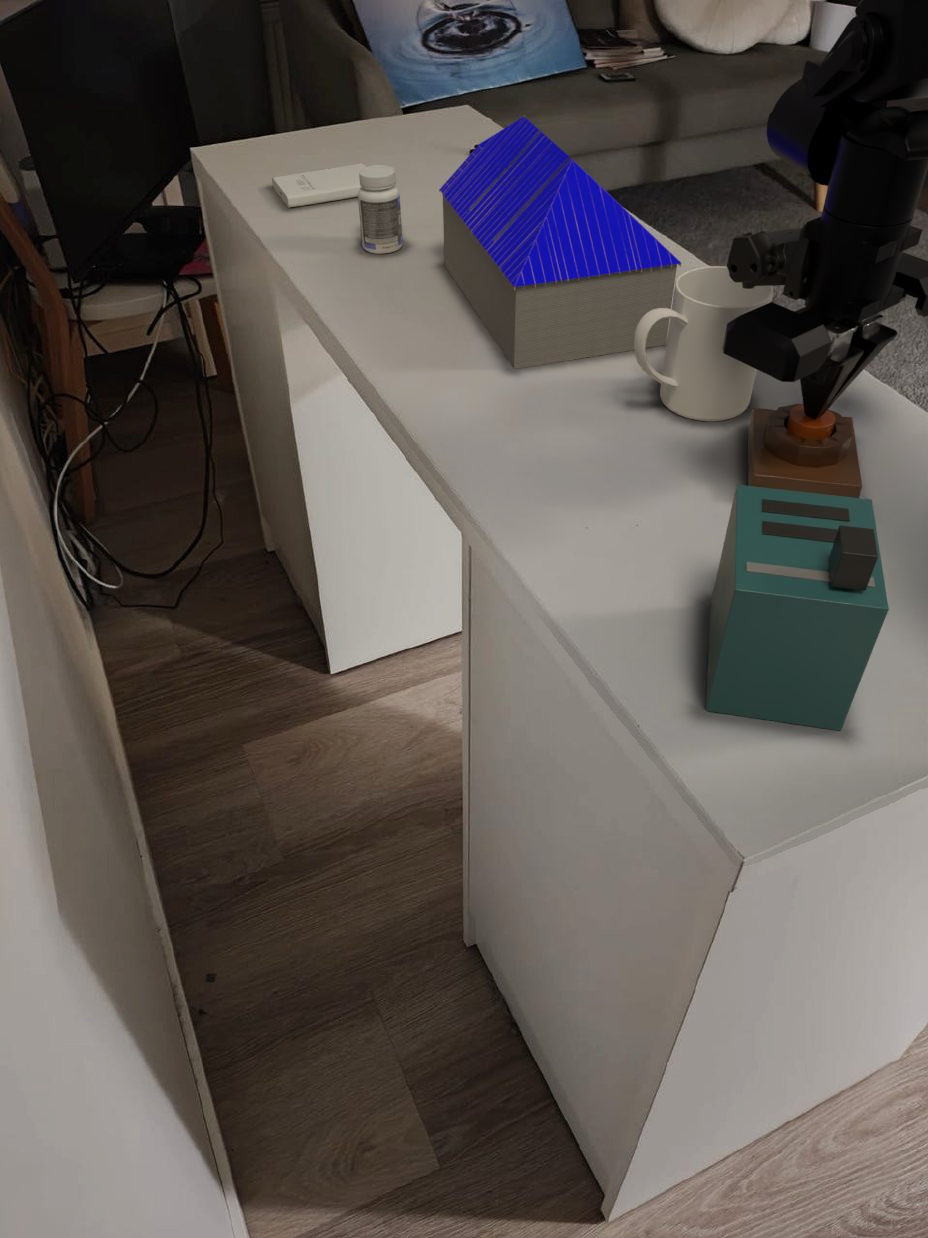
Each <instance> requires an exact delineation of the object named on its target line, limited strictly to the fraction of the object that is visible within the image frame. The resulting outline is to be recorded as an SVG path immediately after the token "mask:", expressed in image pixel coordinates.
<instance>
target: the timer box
mask: <svg viewBox="0 0 928 1238" xmlns="http://www.w3.org/2000/svg"><path fill="white" fill-rule="evenodd" d="M799 405H803V403H794V404H789V405H784V406H779V407H778V408H776V409H772V408H760V407H753V408H752V411H751V415H750V421H749V424H748V429H747V433H748V434H747V438H748V439H747V440H748V441H747V444H748V445H747V452H748V453H747V454H748V455H747V486H754V487H763V488H772V489H781V490H790V491H799V492H808V493H817V494H826V495H836V496H845V497H854V498H860V494H861V492H862V489H863V483H862V475H861V468H860V460H859V454H858V448H857V439H856V434H855V427H854V420H853V419H854V418H853V417H852V416H843V415H842V414H841V413H840V412H837V411H834V410H832V409H830V408H829V409H828V410H829V411H831V412H832V413H833V414H834V416H835V423H834V426H833V430H832V433H831V436H830V437H828V438H823V439H808V438H803V437H800V436H798V435H795V434H792V433H791V432H790V431H789V430H788V429H787V428H786V427H787V423H788V419H789V415H790V411H791V410H792V409H793V408H794V407H796V406H799Z"/></svg>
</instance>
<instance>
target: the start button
mask: <svg viewBox="0 0 928 1238" xmlns="http://www.w3.org/2000/svg"><path fill="white" fill-rule="evenodd" d="M829 410H830V409H829ZM829 410H827V411H826V412H825V413H824V414H823V415H822V416H821V417H819V418H817V419H813V418H811V417H809V416H807V415H805V413H804V406H803V405H799V406H796V407H794V408H793V409H792V410H791V411H790V415H789V419H788V423H787V427H786V428H787V429H788V430H789V431H790V432H791V433H792V434H795V435H798V436H800V437H803V438H808V439H823V438H828V437H830V436H831V433H832V430H833V426H834V423H835V416H834V414H833V413H832V412H831V411H829Z"/></svg>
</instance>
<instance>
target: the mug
mask: <svg viewBox="0 0 928 1238" xmlns="http://www.w3.org/2000/svg"><path fill="white" fill-rule="evenodd" d="M773 298H774V286H755V287H754V288H752V289H744V288H742V282H741V283H736V282H734V281H733V280H732V279H731V278H730V276H729V270H728V268H727V266H722V265H721V266H720V265H711V266H710V265H709V266H702V267H697V268H692V269H690V270H687V271H684V272H683V273H682V274H680V275H679V276H677V278H676V279H675V283H674V290H673V297H672V304H671V309H668V308H657V309H653V310H651V311H649V312H648V313H646V314H645V315H644V316H643V317H642V318H641V320H640V322H639V323H638V325H637V328H636V331H635V337H634V349H635V350H634V354H635V358H636V361H637V363H638V365H639V367H640V368H641V370H642V371H644V373H645V374H647V375H648V377H650V378H651V379H653V380H654V381H656V382H658V383H659V384H660V389H659V397H660V399H661V401H662V404H663V405H664V406H665V407H666V408H667V409H668V410H670V411H671V412H673V413H675V414H676V415H678V416H681V417H684V418H687V419H690V420H694V421H695V420H696V421H700V422H701V421H702V422H721V421H726V420H730V419H733V418H736V417H738V416H740V415H742V414H743V413H744V412H745V411H746V410H747V409H748V407H749V405H750V403H751V399H752V394H753V389H754V384H755V381H756V375H757V371H758V370H757V369H755V368H753V367H751V366H749V365H746V364H744V363H742V362H740V361H738V360H736V359H734V358H732V357H730V356H728V355H726V354H724V353H723V343H724V337H725V332H726V327H727V323H729V322H730V321H732V320H734V319H735V318H737V317H738V316H740V315H742V314H745V313H747V312H749V311H752V310H754V309H756V308H759V307H761V306H763V305H765V304H768V303H770V302H773ZM662 318H669V325H668V332H667V340H666V345H665V347H666V348H665V352H664V353H665V354H664V361H663V368H662V374H661V373H660V372H658V371H657V370H655V369H654V368H653V367H652V366H651V364H650V363H649V361H648V357H647V351H646V350H647V348H645V347H646V339H647V335H648V332H649V330H650V329H651V327H652V326H653V325H654V324H655V323H656V322H657V321H658V320H660V319H662Z"/></svg>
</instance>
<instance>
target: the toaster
mask: <svg viewBox="0 0 928 1238" xmlns="http://www.w3.org/2000/svg"><path fill="white" fill-rule="evenodd" d="M840 525H842V526H851V527H860V528H868V529H874V533H875V540H876V547H877V553H878V558H877V561H876V564H875V567H874V569H873V572H872V575H871V578H870V580H869V583H868V586H867V589H866V591H863V590H855V589H847V588H839V587H832V586H831V579H830V568H829V556H830V553H831V550H832V547H833V544H834V541H835V538H836V534H837V531H838V528H839V526H840ZM718 563H719V564H718V568H717V573H716V576H715V582H714V586H713V590H712V595H711V599H710V600H711V601H710V607H709V626H708V627H709V630H708V631H709V632H708V654H707V673H706V675H707V676H706V697H705V711H706V712H712V713H718V714H724V715H725V714H726V715H732V716H740V717H745V718H752V719H760V720H765V721H766V720H767V721H771V722H772V721H773V722H780V723H786V724H793V725H798V726H806V727H812V728H813V727H814V728H819V729H825V730H833V731H842V729H843V726H844V724H845V721H846V719H847V716H848V714H849V711H850V708H851V706H852V704H853V702H854V698H855V696H856V693H857V691H858V689H859V685H860V683H861V681H862V679H863V676H864V673H865V671H866V668H867V666H868V663H869V660H870V658H871V655H872V654H873V653H872V652H873V651H874V648H875V645H876V642H877V640H878V637H879V636H880V632H881V630H882V628H883V625H884V622H885V620H886V618H887V615H888V613H889V610H890V608H889V602H888V601H889V600H888V596H887V595H888V594H887V589H886V582H885V576H884V575H885V574H884V568H883V563H882V556H881V550H880V543H879V538H878V530H877V524H876V517H875V511H874V504H873V500H872V499H870V498H861V497H859V498H854V497H845V496H836V495H826V494H817V493H808V492H799V491H790V490H781V489H772V488H763V487H754V486H748V485H745V484H736V487H735V490H734V495H733V500H732V504H731V509H730V512H729V518H728V523H727V528H726V532H725V536H724V541H723V545H722V550H721V554H720V558H719V562H718Z"/></svg>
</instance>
